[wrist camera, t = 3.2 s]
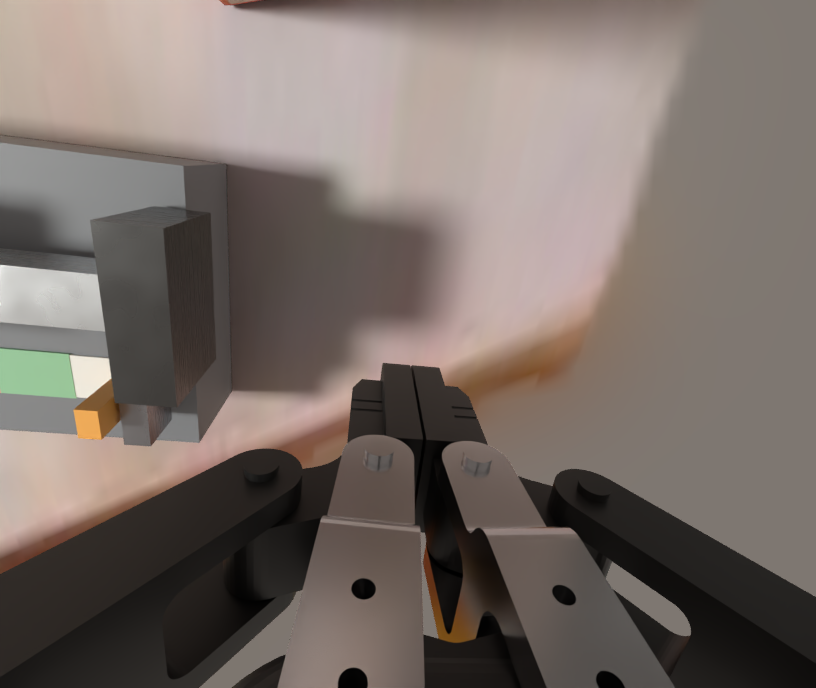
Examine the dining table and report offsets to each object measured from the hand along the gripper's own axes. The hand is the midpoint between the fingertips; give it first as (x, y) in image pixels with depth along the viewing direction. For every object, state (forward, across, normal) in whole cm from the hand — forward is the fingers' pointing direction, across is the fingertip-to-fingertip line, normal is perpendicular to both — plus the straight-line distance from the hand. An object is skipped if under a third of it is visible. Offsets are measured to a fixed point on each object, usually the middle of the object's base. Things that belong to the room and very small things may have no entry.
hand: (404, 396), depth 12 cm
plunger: (+7, +13, +1) cm, 15 cm away
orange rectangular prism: (+7, +11, +4) cm, 14 cm away
